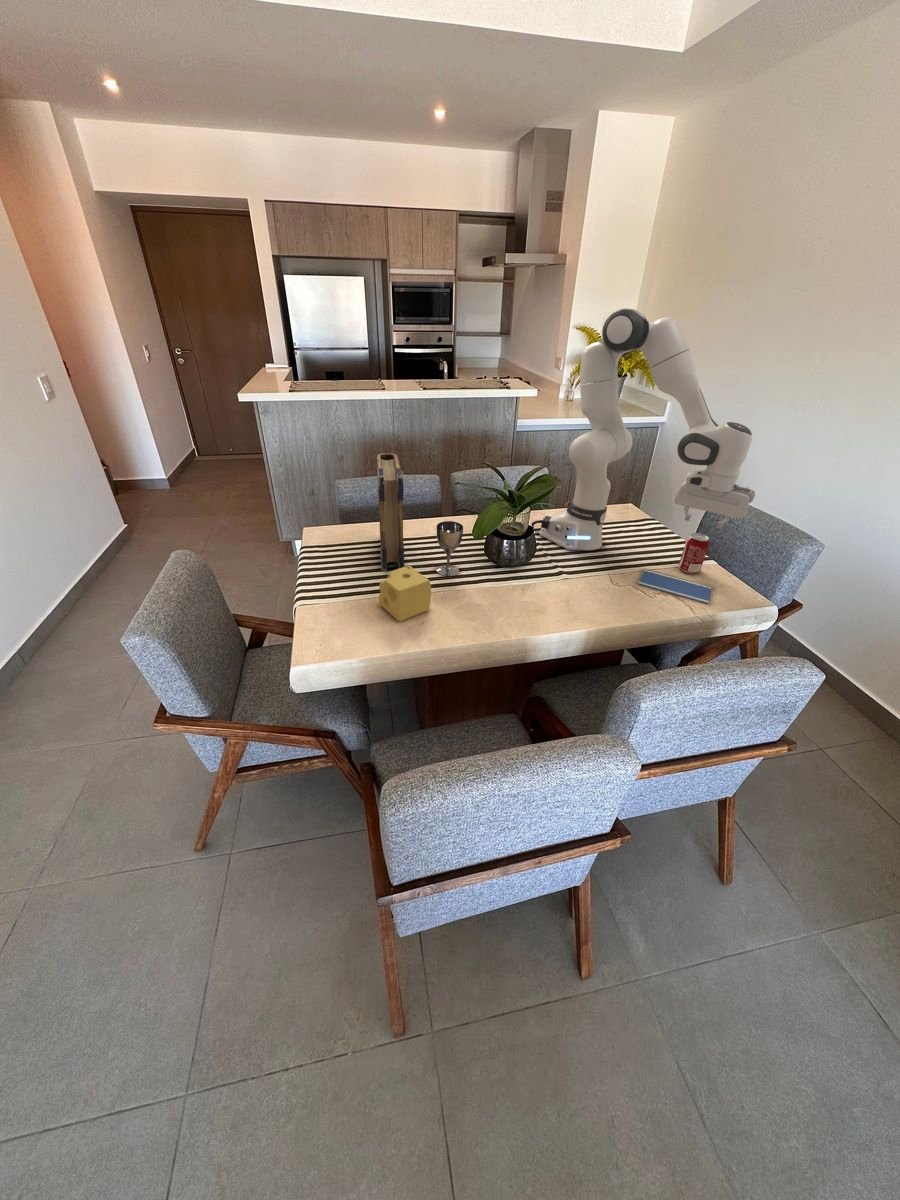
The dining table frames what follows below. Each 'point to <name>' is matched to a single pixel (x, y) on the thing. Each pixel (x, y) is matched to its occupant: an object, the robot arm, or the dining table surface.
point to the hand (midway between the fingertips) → (702, 523)
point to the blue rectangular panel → (675, 586)
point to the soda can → (694, 553)
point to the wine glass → (449, 544)
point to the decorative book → (390, 509)
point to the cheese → (405, 593)
